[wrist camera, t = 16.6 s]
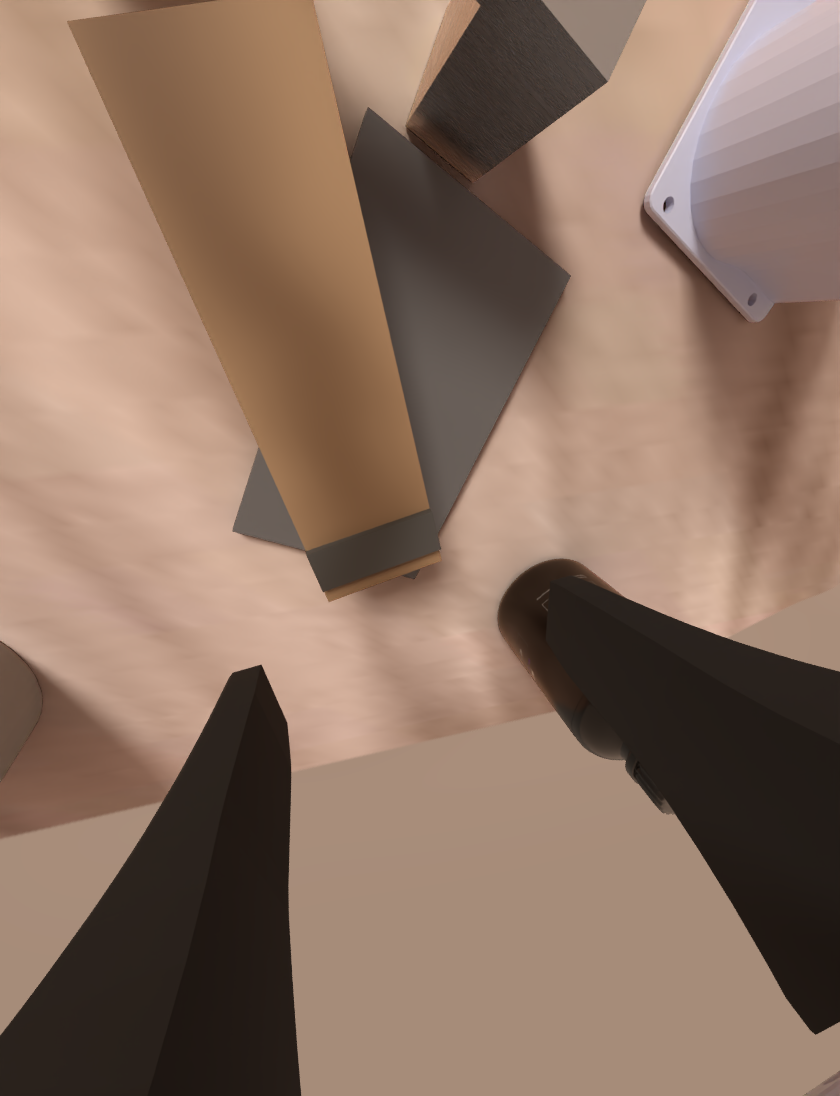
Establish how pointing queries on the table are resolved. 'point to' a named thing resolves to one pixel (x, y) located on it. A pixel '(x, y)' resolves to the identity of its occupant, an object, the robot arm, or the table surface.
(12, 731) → the coffee mug
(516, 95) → the housing
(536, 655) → the supplement bottle
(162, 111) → the wooden block
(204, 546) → the table surface
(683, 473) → the table surface
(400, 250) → the pad
